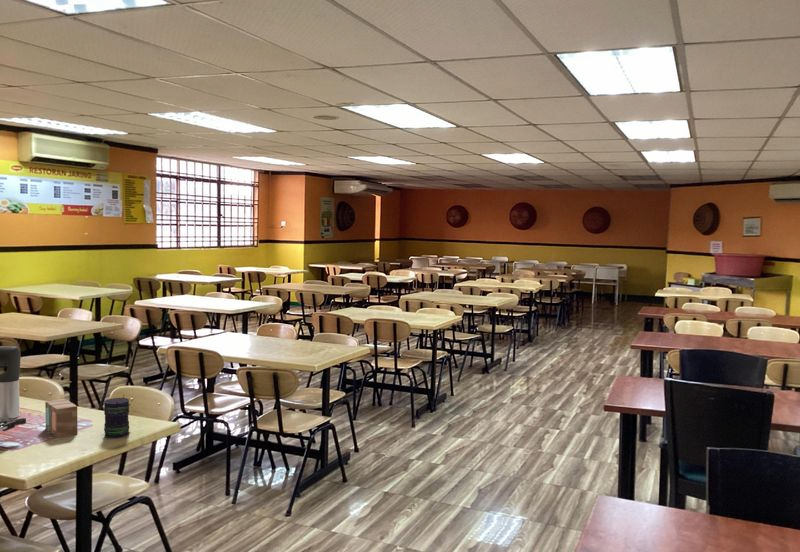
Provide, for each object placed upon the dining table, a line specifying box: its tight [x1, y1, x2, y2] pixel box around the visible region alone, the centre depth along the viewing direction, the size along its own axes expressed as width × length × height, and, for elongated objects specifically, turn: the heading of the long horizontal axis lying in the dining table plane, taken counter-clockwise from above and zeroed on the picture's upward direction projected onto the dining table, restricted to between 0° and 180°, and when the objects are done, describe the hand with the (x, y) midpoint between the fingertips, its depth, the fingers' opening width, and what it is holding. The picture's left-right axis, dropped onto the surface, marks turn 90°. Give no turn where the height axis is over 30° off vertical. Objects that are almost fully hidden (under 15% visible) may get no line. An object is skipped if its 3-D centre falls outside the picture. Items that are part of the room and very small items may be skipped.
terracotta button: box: [52, 412, 56, 431], centre depth 275 cm, size 5×6×7 cm
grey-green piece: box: [45, 407, 50, 426], centre depth 281 cm, size 5×6×7 cm
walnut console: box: [44, 398, 79, 438], centre depth 279 cm, size 17×8×12 cm, turn 43°
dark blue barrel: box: [103, 397, 130, 440], centre depth 275 cm, size 10×10×15 cm
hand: (25, 420), depth 266 cm, fingers closed
